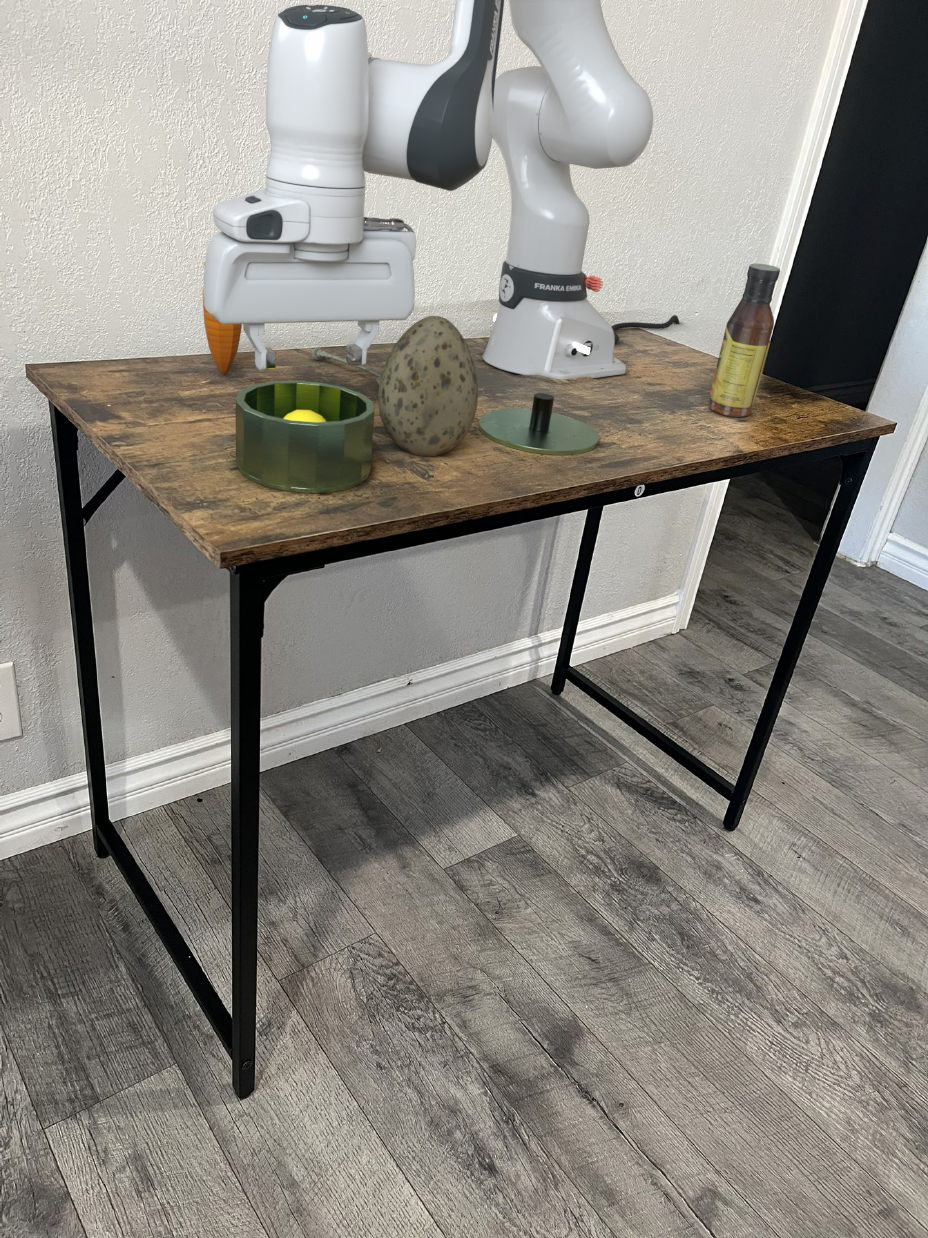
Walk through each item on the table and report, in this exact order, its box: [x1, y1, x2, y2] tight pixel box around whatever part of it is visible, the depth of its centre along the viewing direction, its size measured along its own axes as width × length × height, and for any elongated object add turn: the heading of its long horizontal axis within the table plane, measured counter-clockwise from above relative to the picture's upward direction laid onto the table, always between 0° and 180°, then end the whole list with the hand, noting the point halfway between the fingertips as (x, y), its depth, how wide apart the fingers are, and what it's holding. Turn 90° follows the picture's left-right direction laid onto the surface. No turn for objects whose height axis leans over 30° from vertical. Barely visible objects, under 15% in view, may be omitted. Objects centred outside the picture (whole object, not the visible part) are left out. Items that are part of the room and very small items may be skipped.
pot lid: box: [478, 392, 600, 456], centre depth 113 cm, size 15×15×5 cm
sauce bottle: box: [708, 263, 781, 418], centre depth 129 cm, size 7×6×20 cm
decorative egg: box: [377, 315, 479, 457], centre depth 102 cm, size 11×11×15 cm
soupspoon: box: [311, 347, 382, 385], centre depth 126 cm, size 22×3×7 cm
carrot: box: [202, 261, 243, 376], centre depth 118 cm, size 5×5×15 cm
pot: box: [235, 380, 375, 494], centre depth 96 cm, size 14×14×7 cm
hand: (311, 366), depth 93 cm, fingers open, 8 cm apart
